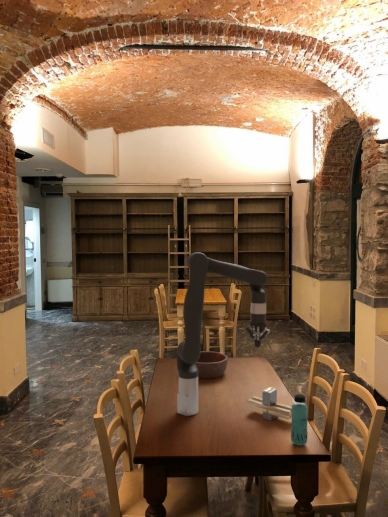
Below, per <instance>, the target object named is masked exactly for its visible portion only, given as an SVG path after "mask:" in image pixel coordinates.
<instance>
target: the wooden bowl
mask: <svg viewBox="0 0 388 517" xmlns="http://www.w3.org/2000/svg"><path fill="white" fill-rule="evenodd" d="M228 360H229V358H228V355H226V354H224V353H222V352H218V351H209V350H206V351H205V350H204V351H201V352H200V357H199V359H198V361H197V362H196V367H197V369H198V379H201V378H202V379H201V380H212V379H219V378H220V376H221V377H222V376H223V375H224V374H225V373H226V371H227V366H228Z"/></svg>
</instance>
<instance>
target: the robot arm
mask: <svg viewBox="0 0 388 517" xmlns="http://www.w3.org/2000/svg"><path fill="white" fill-rule="evenodd" d="M185 262H186V267H187V268H188V269H189V278H188V279H189V282H188V286H187V289H186V292H185V296H184V301H183V309H182V310H183V311H182V316H183V324H184V330H185V337H184V338H185V339H184V340H182V341H181V342H180V343H179V344H178V345H177V349H176V367H177V373H178V392H177V393H176V395H177V397H176V398H177V399H176V401H177V402H176V403H177V405H176V406H177V409H176V410H177V411H176V412H177V414H179V415H182V416H184V417H189V416H194V415H196V414H198V413H199V378H198V369H197V367H196V362H197V361H198V359H199V357H200V352H201V333H202V323H203V322H202V321H203V313H204V305H205V304H204V302H205V283H206V278H207V273H211V274H215V275H219V276H222V277H225V278H228V279H231V280H235V281H238V282H245V283H249V286H250V288H249V289H250V294H251V296H250V301H251V302H250V310H249V311H250V318H249V319H250V320H249V321H250V323H249V325H248V326H246V327H245V329H246V331H247V333H248V334H249V336H250V338H251V339H254V347H255V348H258V349H259V348H260V347H261V345H262V340H264V339H265V340H266V338H267V336H268V335H269V334H270V333H271V329H268V327H267V323H266V322H267V294H266V291H265V290H264V286H265V285H267V283H268V282H269V276H268V274H267V273H266V272H265V271H263V270H257V269H253V268H248V267H247V266H243V265H240V264H235V263H230V262H225V261H220V260H216V259H213V258H210V257H207V255H205V253H202V252H197V251H196V252H191V253H190V254H189V255H188V256H187V258H186V261H185Z"/></svg>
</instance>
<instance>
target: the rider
mask: <svg viewBox="0 0 388 517" xmlns="http://www.w3.org/2000/svg"><path fill="white" fill-rule="evenodd" d="M277 390H278V389H277V388H274V387H271V386H269V387H267V388H265V389H263V390H262V394H261V395H262V397H261V398H262V404H265V405H268V406H271V405H272V406H274V403H276V402H277V401H278V400H277V399H278V398H277V396H278V391H277ZM277 403H278V402H277Z"/></svg>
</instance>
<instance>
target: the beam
mask: <svg viewBox="0 0 388 517" xmlns="http://www.w3.org/2000/svg"><path fill="white" fill-rule="evenodd" d="M246 405H247V408H249V409H251V410H252V409H253V410H256V411H260V412H262V420H266V421H269V422H272V421H273V420H274V419H276V418H277V417H279V418H283V419H285V420H291V419H292V405H291V406H290V405H286V404H283V403H280V402H276V403H274V406H272V405H271V406H268V405H265V404H262V397H259V396H255V395H253V396H252V397H251V398H248V399H247V404H246Z"/></svg>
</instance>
